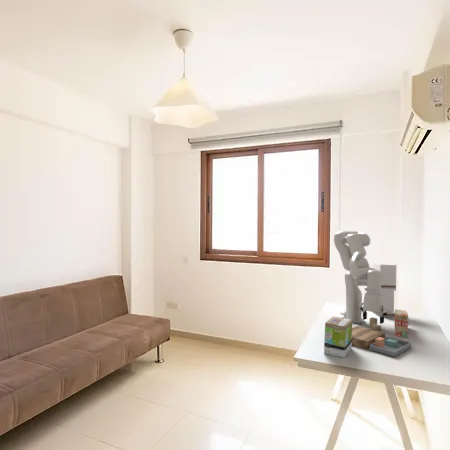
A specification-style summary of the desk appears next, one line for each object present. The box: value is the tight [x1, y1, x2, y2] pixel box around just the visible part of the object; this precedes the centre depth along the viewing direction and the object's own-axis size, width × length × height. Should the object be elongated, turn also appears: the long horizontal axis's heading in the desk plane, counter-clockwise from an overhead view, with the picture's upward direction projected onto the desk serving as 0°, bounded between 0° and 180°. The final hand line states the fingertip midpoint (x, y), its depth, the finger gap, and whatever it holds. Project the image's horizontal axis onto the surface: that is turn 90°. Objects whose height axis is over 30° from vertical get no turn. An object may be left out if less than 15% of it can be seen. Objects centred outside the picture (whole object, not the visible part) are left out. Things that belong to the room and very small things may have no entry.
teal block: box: [385, 338, 398, 348], centre depth 169 cm, size 4×4×2 cm
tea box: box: [323, 316, 353, 359], centre depth 162 cm, size 15×10×15 cm, turn 148°
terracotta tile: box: [375, 337, 385, 348], centre depth 166 cm, size 4×4×2 cm
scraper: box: [368, 316, 383, 332], centre depth 192 cm, size 3×16×8 cm, turn 130°
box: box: [368, 336, 413, 359], centre depth 166 cm, size 12×20×2 cm, turn 131°
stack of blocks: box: [394, 308, 409, 338], centre depth 194 cm, size 21×6×12 cm, turn 154°
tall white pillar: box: [372, 262, 397, 318], centre depth 230 cm, size 11×11×35 cm
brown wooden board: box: [352, 325, 386, 350], centre depth 177 cm, size 16×20×4 cm
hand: (373, 321), depth 193 cm, fingers open, 9 cm apart
